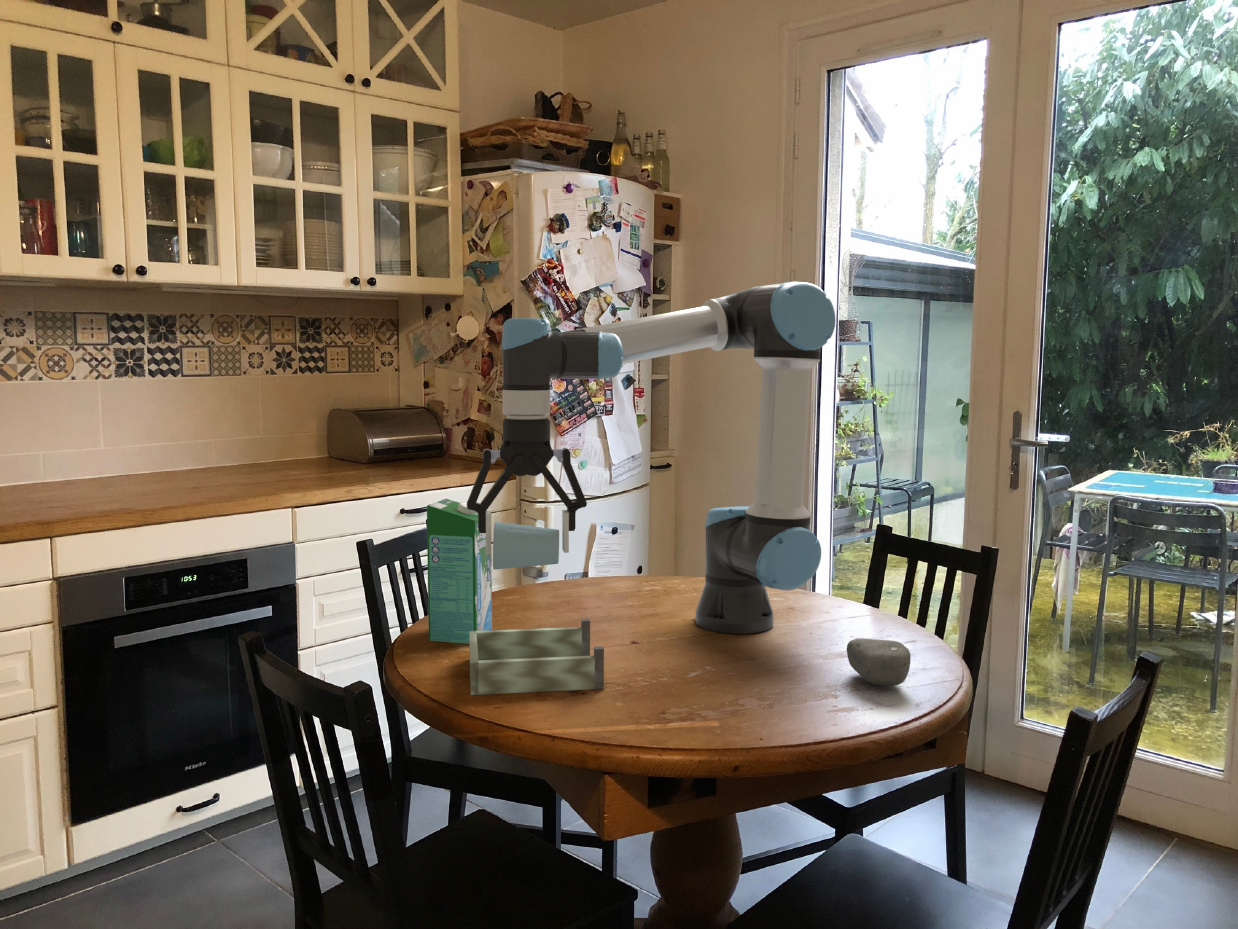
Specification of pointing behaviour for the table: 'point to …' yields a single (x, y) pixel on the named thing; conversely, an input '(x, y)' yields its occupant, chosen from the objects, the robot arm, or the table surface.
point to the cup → (524, 546)
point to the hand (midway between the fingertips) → (527, 552)
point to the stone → (879, 660)
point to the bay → (534, 660)
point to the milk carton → (457, 573)
